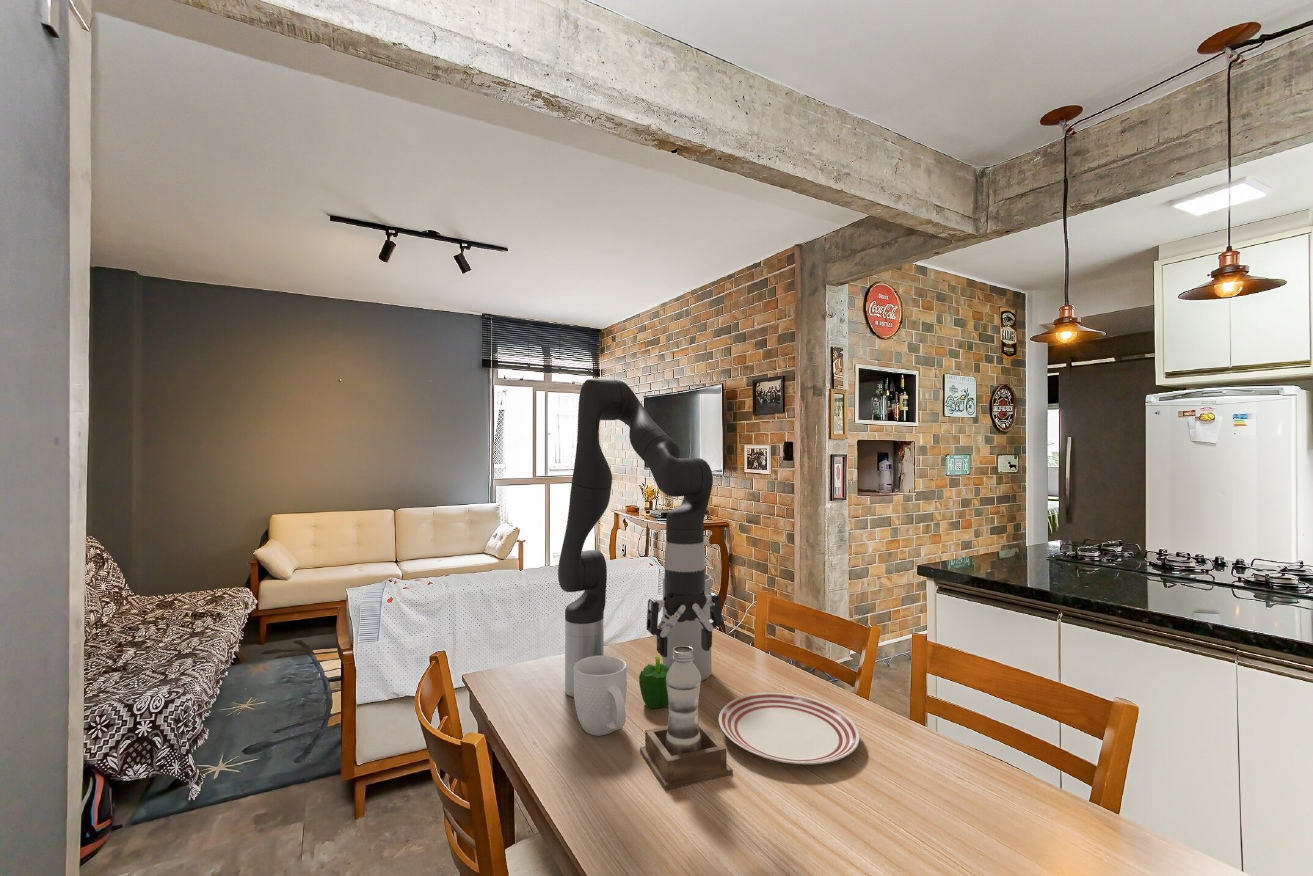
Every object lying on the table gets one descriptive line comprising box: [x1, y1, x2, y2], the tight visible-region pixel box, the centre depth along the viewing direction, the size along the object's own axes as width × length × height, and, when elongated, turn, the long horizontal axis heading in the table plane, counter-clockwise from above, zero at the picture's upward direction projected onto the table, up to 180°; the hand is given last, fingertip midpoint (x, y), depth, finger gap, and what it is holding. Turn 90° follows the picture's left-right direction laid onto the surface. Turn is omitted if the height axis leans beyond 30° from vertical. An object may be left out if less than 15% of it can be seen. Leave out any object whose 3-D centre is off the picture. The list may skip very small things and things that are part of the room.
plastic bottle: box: [665, 646, 702, 756], centre depth 104 cm, size 6×7×20 cm
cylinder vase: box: [662, 572, 712, 682], centre depth 145 cm, size 12×12×25 cm
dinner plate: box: [718, 692, 860, 765], centre depth 113 cm, size 28×27×3 cm
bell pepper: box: [638, 655, 669, 709], centre depth 128 cm, size 8×8×10 cm
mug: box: [573, 655, 628, 737], centre depth 115 cm, size 15×11×13 cm
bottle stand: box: [639, 719, 734, 791], centre depth 104 cm, size 13×13×4 cm
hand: (684, 652), depth 104 cm, fingers open, 8 cm apart
